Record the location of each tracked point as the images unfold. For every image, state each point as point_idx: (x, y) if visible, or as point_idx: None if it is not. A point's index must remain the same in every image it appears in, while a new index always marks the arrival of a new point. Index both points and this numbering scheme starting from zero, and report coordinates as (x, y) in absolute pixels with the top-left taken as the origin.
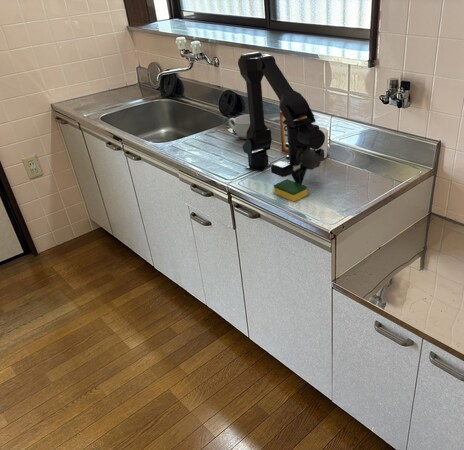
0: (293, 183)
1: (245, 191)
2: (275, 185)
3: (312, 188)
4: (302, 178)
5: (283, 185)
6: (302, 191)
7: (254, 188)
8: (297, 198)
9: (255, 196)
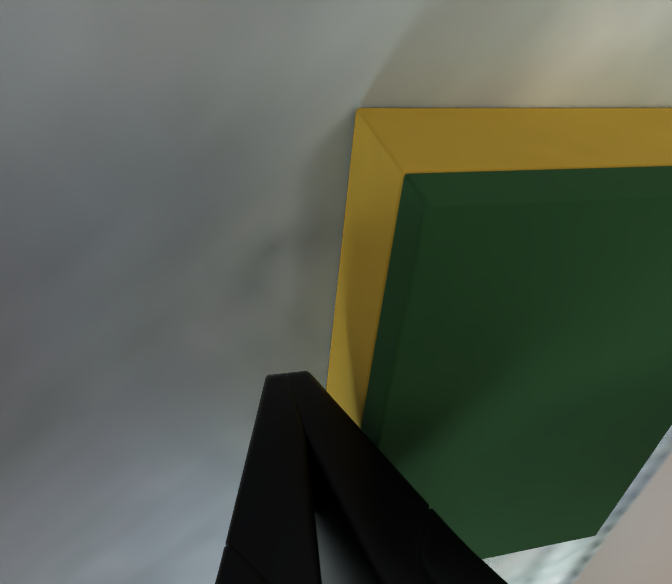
0: (440, 459)
1: (580, 556)
2: (602, 522)
3: (60, 234)
4: (282, 502)
5: (567, 481)
6: (554, 163)
7: (506, 564)
8: (632, 118)
9: (643, 473)
